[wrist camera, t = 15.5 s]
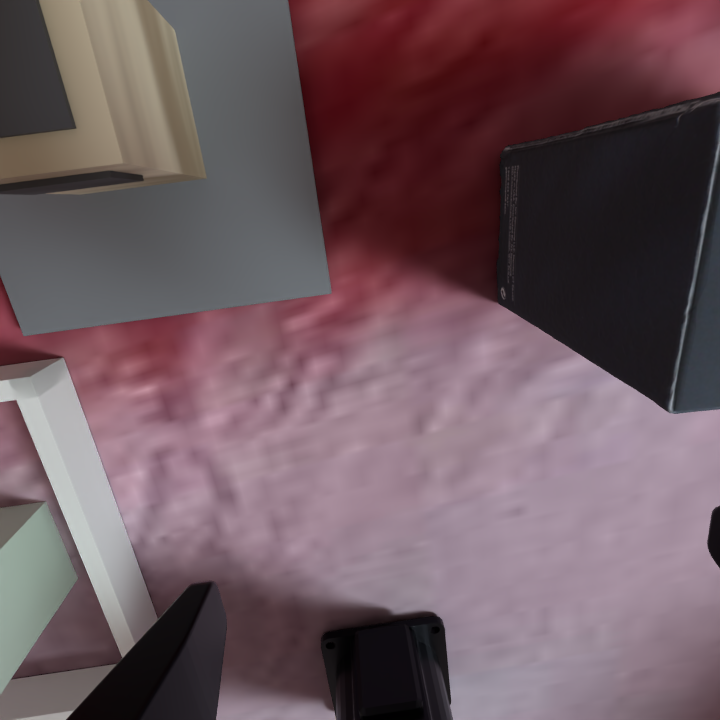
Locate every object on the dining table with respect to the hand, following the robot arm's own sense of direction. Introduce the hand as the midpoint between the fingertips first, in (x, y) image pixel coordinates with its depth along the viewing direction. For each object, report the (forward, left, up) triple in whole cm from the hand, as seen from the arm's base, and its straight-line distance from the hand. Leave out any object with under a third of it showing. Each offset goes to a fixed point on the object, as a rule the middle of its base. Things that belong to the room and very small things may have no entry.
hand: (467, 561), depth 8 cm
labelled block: (+10, +8, -11) cm, 17 cm away
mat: (+10, +8, -12) cm, 18 cm away
